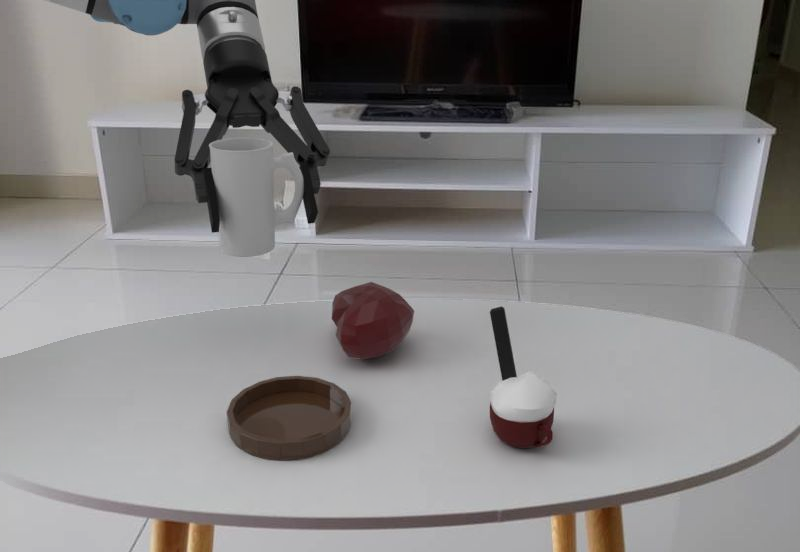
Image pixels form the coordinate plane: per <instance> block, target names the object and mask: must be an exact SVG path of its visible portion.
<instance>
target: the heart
mask: <svg viewBox="0 0 800 552" xmlns="http://www.w3.org/2000/svg"><path fill="white" fill-rule="evenodd" d="M414 315H415V309H413V307H412V306H411V305H410V304H409V302H408V301H407V300H406V299H405V298H403V296H401V294H399V293H398V292H396V291H395V290H392V289H391V288H389V287H386V286H385V285H384V286H383V285H381V284H379V283H375V282H374V281H369V282H366V283H365V282H364V283H362V284H358V285H354V286H352V287H349V288H346V289H344V290H341V291H340V292H338V293H337V294H336V295H335V296H334V297H333V300H332V304H331V320H332V321H333V324H334V325H335V326H336V332H335V336H336V339H337V341H338V343H339V345H340V346H341V349H342V351H343V352H344V353H345V355H346V356H347V357H348V358H351V359H358V360H367V359H373V358H377V357H382V356H385V355H388V353H391V351H393V350H394V349H395V348H396V347H397V346H399V345H400V344H401V343H402V341H404V339H405V338H406V336H407V335H408V334H409V332H410V330H411V328H412V325H413V322H414V317H415V316H414Z"/></svg>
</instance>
